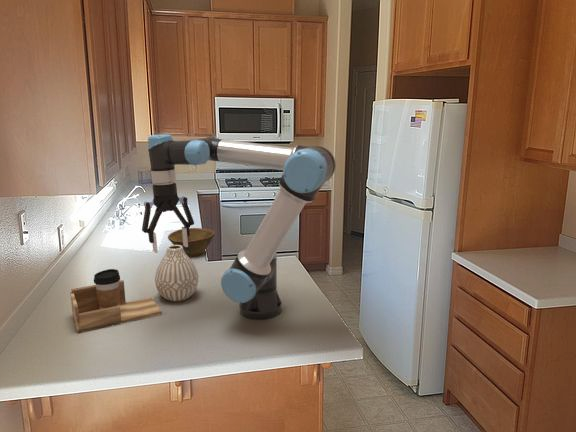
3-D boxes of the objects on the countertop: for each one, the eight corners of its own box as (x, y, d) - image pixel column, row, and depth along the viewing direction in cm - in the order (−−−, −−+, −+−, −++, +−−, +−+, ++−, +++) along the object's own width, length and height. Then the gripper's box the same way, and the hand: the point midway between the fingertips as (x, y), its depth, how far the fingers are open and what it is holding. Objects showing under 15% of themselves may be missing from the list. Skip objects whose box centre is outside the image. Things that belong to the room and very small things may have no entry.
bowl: (160, 252, 228) (159, 233, 226) (201, 243, 243) (200, 225, 241) (182, 264, 212) (181, 243, 210) (224, 253, 227) (223, 234, 225)
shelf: (161, 314, 162) (159, 287, 160) (77, 333, 149) (74, 304, 147) (151, 300, 174) (149, 275, 171) (72, 316, 161) (69, 289, 158)
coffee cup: (128, 313, 160) (124, 272, 157) (104, 321, 154) (100, 279, 151) (115, 306, 166) (112, 266, 162) (92, 314, 160) (88, 273, 156)
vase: (154, 307, 168) (150, 254, 163) (157, 290, 183) (154, 241, 178) (199, 303, 171) (197, 252, 166) (199, 287, 186) (196, 239, 181)
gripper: (193, 177, 159) (198, 240, 164) (126, 185, 148) (134, 252, 153) (200, 180, 153) (206, 245, 158) (131, 188, 142) (140, 258, 147)
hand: (170, 249), depth 155 cm, fingers open, 10 cm apart
